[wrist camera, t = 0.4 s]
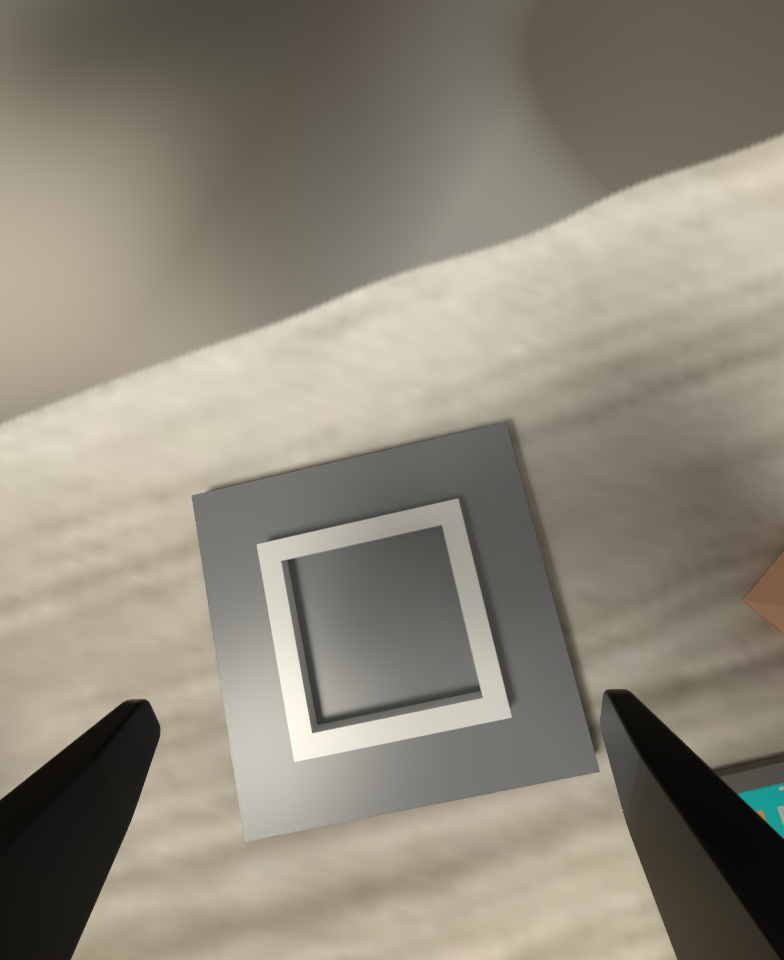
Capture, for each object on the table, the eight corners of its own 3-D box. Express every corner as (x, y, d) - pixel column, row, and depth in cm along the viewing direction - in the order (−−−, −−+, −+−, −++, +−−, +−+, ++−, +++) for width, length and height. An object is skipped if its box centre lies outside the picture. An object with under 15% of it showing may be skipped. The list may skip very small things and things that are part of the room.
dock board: (590, 759, 22) (608, 782, 19) (254, 826, 22) (235, 856, 20) (502, 428, 24) (509, 416, 22) (203, 498, 25) (181, 493, 23)
